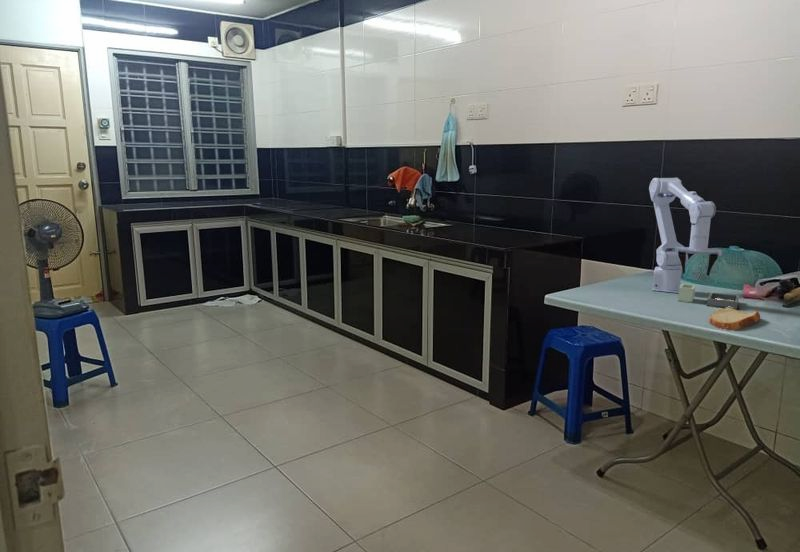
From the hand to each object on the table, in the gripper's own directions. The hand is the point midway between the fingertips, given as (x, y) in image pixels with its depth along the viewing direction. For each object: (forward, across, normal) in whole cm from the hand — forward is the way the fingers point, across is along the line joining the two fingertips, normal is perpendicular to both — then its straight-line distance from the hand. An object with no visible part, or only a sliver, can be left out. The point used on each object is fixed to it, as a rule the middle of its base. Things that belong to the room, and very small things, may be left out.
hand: (695, 274), depth 199 cm
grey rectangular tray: (+9, +9, -2) cm, 13 cm away
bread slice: (+10, +12, -26) cm, 30 cm away
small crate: (+10, -2, -1) cm, 10 cm away
